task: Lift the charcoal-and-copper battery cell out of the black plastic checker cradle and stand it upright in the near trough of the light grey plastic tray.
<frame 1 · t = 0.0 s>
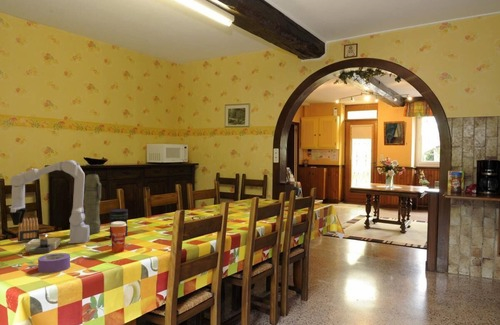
hand: (17, 224, 186), 10 cm above the table, tool pointing down, fingers open, 4 cm apart
checker cradle: (40, 251, 173), on the table
battery cell: (43, 249, 173), point 1 cm above the table, touching checker cradle
trough tray: (43, 246, 181), on the table
tape roll: (54, 269, 150), on the table
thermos: (92, 232, 215), on the table
ammunition clip: (28, 240, 192), on the table, touching gripper
paper cup: (118, 251, 177), on the table
storage jar: (118, 236, 208), on the table
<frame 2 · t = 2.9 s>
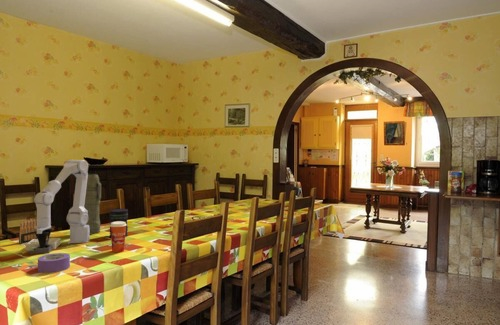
hand: (43, 245, 173), 3 cm above the table, tool pointing down, fingers closed on battery cell, 3 cm apart
battery cell: (43, 249, 173), point 1 cm above the table, touching checker cradle, gripper
ammunition clip: (29, 241, 192), on the table
everything else where it was.
when the fingers open (4 cm above the table, at t = 6.0 s): battery cell stays where it is, resting on trough tray.
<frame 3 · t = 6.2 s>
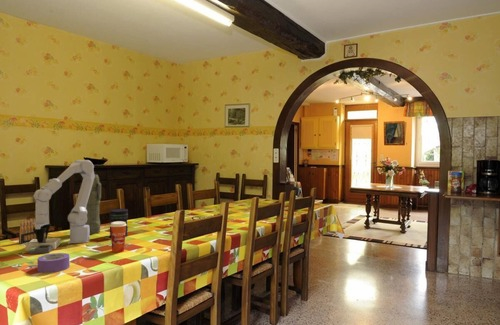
hand: (42, 240, 179), 4 cm above the table, tool pointing down, fingers open, 5 cm apart
battery cell: (42, 246, 179), point 1 cm above the table, touching trough tray
everything else where it was.
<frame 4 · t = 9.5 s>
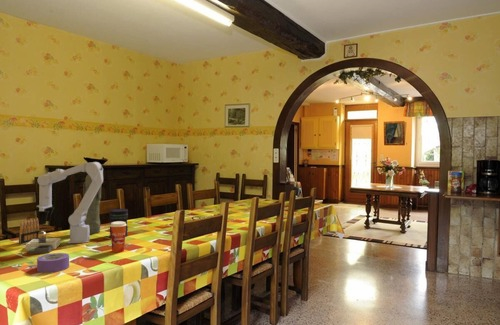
hand: (45, 222, 191), 10 cm above the table, tool pointing down, fingers open, 7 cm apart
nothing on the table moved.
at the end: battery cell inside the target area on the trough tray (0.1 cm from its centre), point 1.0 cm above the trough tray's base; battery cell tilted 1°; the gripper is holding nothing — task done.
